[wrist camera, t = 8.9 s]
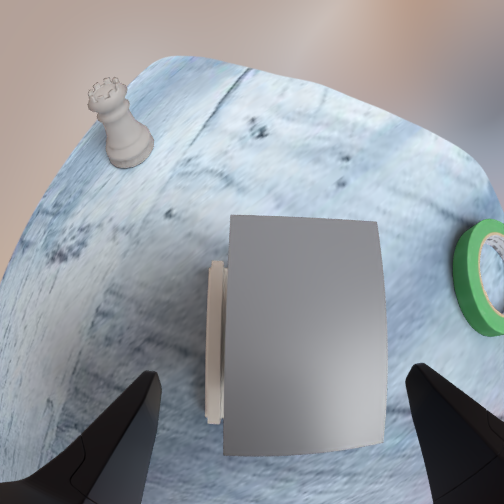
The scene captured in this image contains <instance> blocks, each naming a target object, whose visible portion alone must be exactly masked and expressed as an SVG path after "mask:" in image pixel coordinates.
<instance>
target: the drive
mask: <svg viewBox="0 0 504 504" xmlns="http://www.w3.org/2000/svg"><path fill="white" fill-rule="evenodd" d="M387 363H388V355H387V317H386V300H385V287H384V275H383V265H382V256H381V248H380V240H379V233H378V226H377V222H372V221H358V220H342V219H325V218H305V217H283V216H255V215H231V216H230V235H229V255H228V277H227V302H226V331H225V367H224V427H223V455H224V456H288V455H303V454H314V453H324V452H332V451H340V450H346V449H353V448H359V447H364V446H369V445H375V444H379V443H383V439H384V428H385V416H386V400H387Z"/></svg>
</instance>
